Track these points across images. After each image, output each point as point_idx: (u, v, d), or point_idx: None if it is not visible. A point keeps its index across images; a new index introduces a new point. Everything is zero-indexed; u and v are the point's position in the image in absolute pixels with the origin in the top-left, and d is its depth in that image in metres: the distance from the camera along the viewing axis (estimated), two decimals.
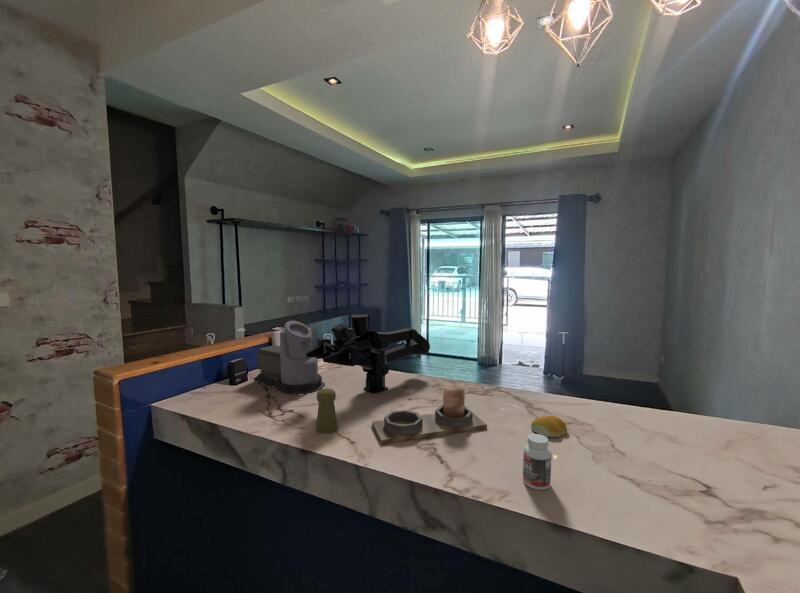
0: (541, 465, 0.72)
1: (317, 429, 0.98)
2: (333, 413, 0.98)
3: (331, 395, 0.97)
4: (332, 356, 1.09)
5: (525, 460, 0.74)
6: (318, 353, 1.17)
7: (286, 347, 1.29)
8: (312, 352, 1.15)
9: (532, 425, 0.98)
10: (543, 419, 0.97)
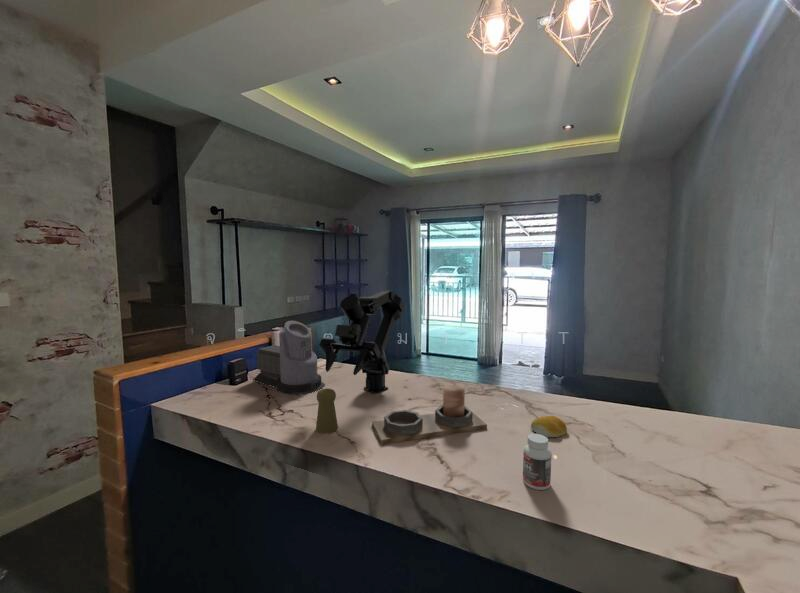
0: (541, 465, 0.72)
1: (317, 429, 0.98)
2: (333, 413, 0.98)
3: (331, 395, 0.97)
4: (358, 365, 1.05)
5: (525, 460, 0.74)
6: (332, 359, 1.11)
7: (285, 347, 1.29)
8: (329, 364, 1.08)
9: (532, 425, 0.98)
10: (543, 419, 0.97)
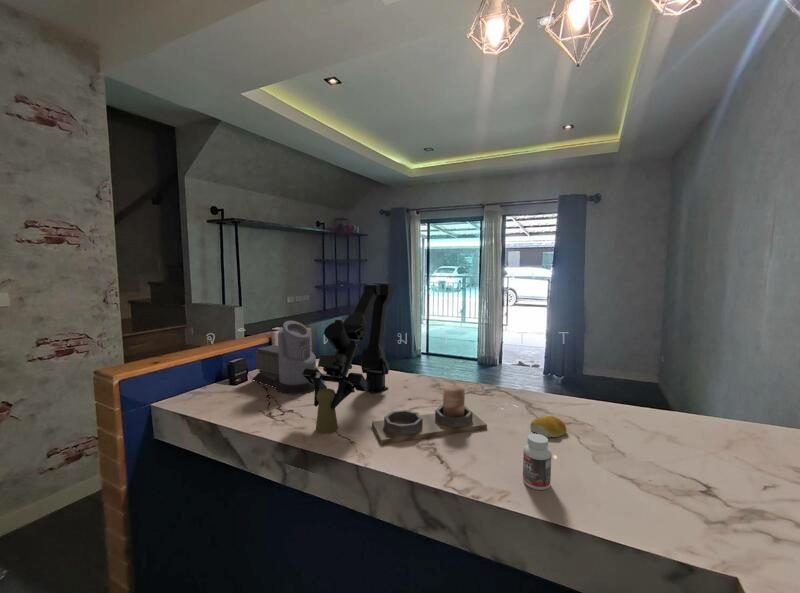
0: (541, 465, 0.72)
1: (317, 429, 0.98)
2: (333, 413, 0.98)
3: (331, 395, 0.97)
4: (337, 398, 0.98)
5: (525, 460, 0.74)
6: None
7: (284, 347, 1.29)
8: None
9: (531, 425, 0.98)
10: (542, 419, 0.97)
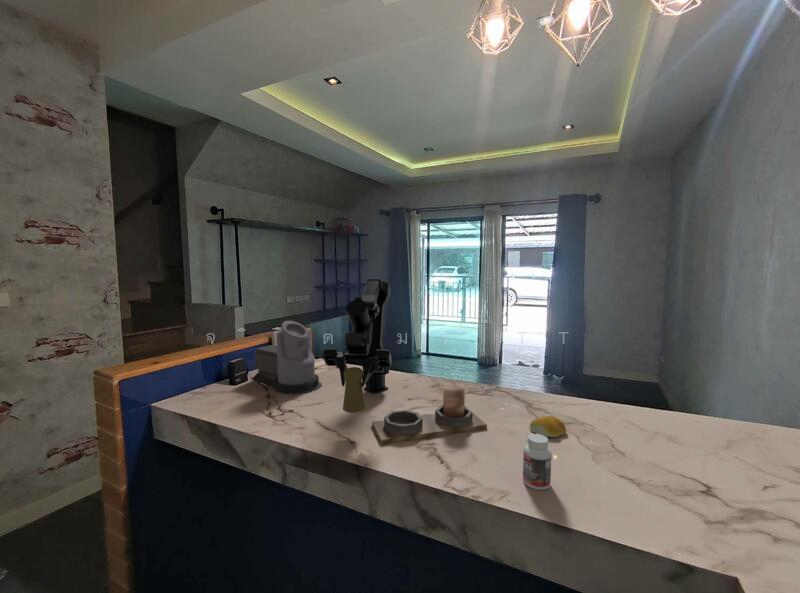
0: (541, 465, 0.72)
1: (346, 409, 0.95)
2: (362, 391, 0.96)
3: (360, 373, 0.95)
4: (366, 376, 0.96)
5: (525, 460, 0.74)
6: None
7: (282, 347, 1.29)
8: None
9: (531, 425, 0.98)
10: (542, 419, 0.97)
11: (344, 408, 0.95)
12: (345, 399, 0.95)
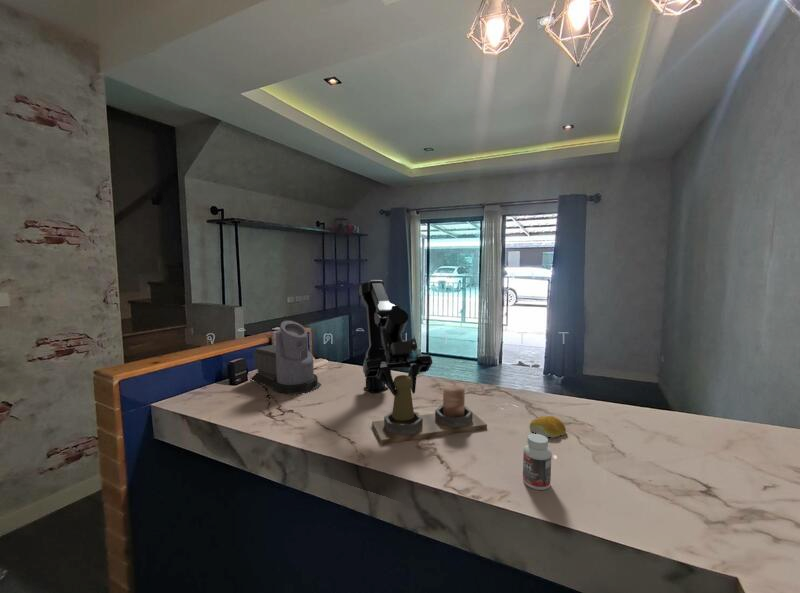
0: (541, 465, 0.72)
1: (400, 417, 0.95)
2: (411, 398, 0.98)
3: None
4: (415, 382, 0.98)
5: (525, 460, 0.74)
6: None
7: (281, 347, 1.29)
8: None
9: (531, 425, 0.98)
10: (542, 419, 0.97)
11: (397, 417, 0.95)
12: (398, 408, 0.95)
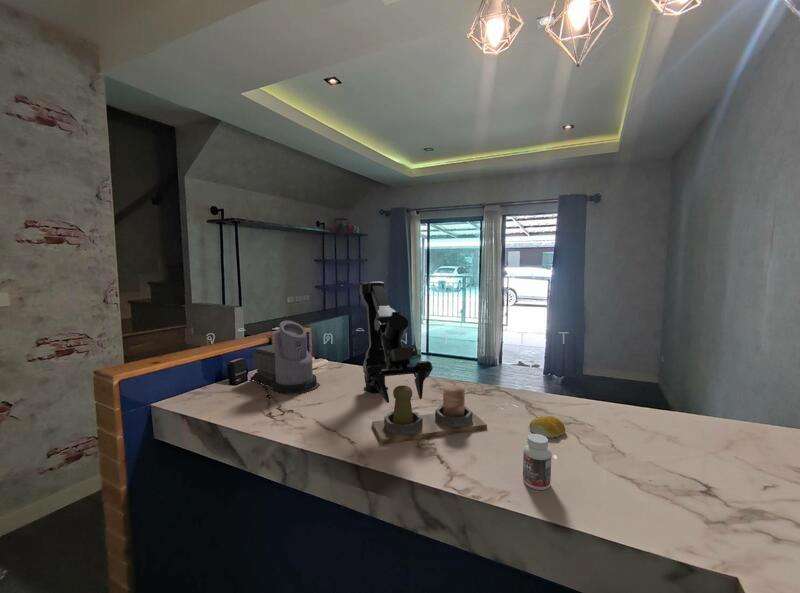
0: (541, 465, 0.72)
1: None
2: None
3: (411, 390, 0.97)
4: (422, 388, 0.99)
5: (525, 460, 0.74)
6: None
7: (280, 347, 1.29)
8: None
9: (530, 425, 0.98)
10: (541, 419, 0.97)
11: None
12: (398, 418, 0.96)
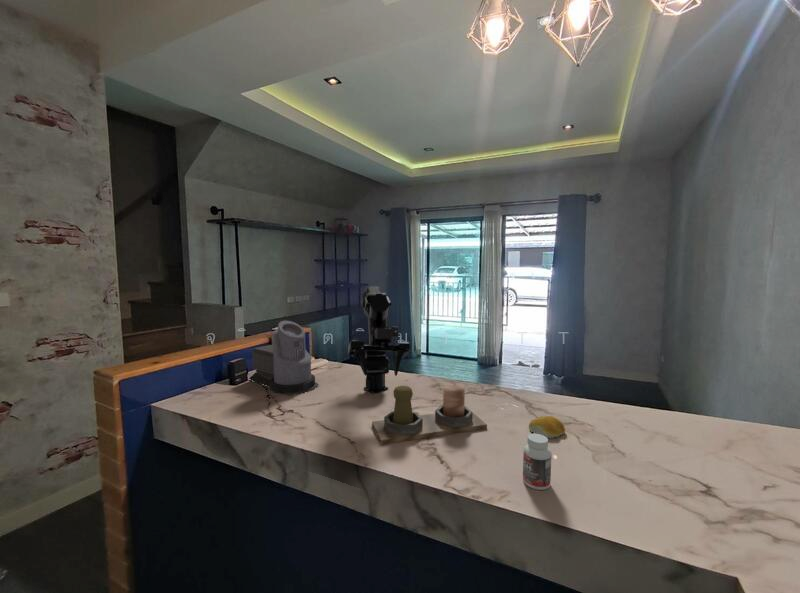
0: (541, 465, 0.72)
1: None
2: (411, 408, 0.98)
3: None
4: (398, 366, 1.08)
5: (525, 460, 0.74)
6: None
7: (279, 347, 1.29)
8: None
9: (530, 426, 0.98)
10: (541, 419, 0.96)
11: None
12: (398, 419, 0.96)
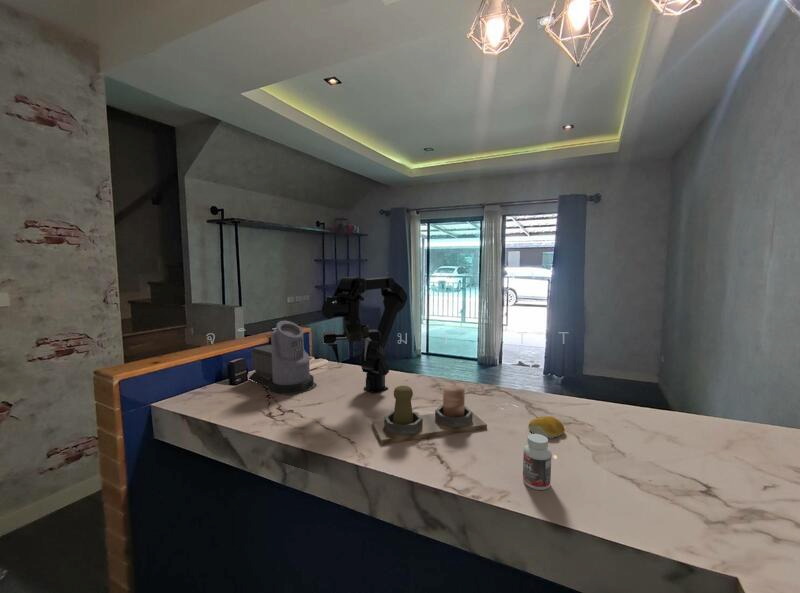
0: (541, 465, 0.72)
1: None
2: (411, 408, 0.98)
3: (412, 391, 0.97)
4: (368, 353, 1.20)
5: (525, 460, 0.74)
6: None
7: (277, 347, 1.29)
8: (338, 356, 1.18)
9: (529, 426, 0.98)
10: (540, 420, 0.96)
11: None
12: (398, 419, 0.96)
